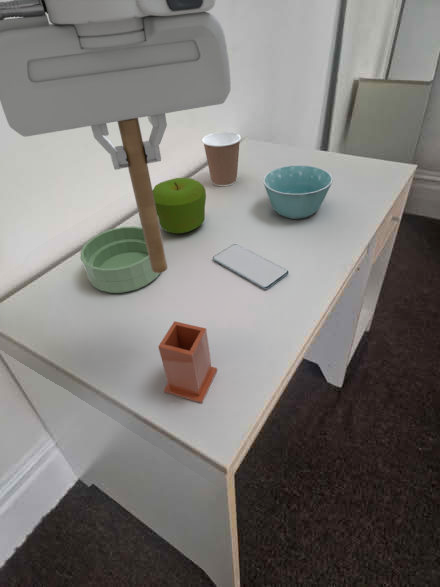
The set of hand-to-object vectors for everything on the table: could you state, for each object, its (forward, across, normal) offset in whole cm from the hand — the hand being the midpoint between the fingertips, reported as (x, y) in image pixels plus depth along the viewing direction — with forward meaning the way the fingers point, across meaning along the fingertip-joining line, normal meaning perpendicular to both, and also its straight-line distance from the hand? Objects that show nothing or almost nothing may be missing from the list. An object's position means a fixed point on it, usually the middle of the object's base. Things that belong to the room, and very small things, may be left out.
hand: (137, 163), depth 38 cm
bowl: (+31, +39, +33) cm, 60 cm away
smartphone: (+31, +19, +17) cm, 40 cm away
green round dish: (+31, -4, +26) cm, 41 cm away
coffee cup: (+31, +29, +57) cm, 71 cm away
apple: (+31, +11, +38) cm, 50 cm away
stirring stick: (+14, 0, 0) cm, 14 cm away
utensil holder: (+31, 0, -5) cm, 31 cm away
